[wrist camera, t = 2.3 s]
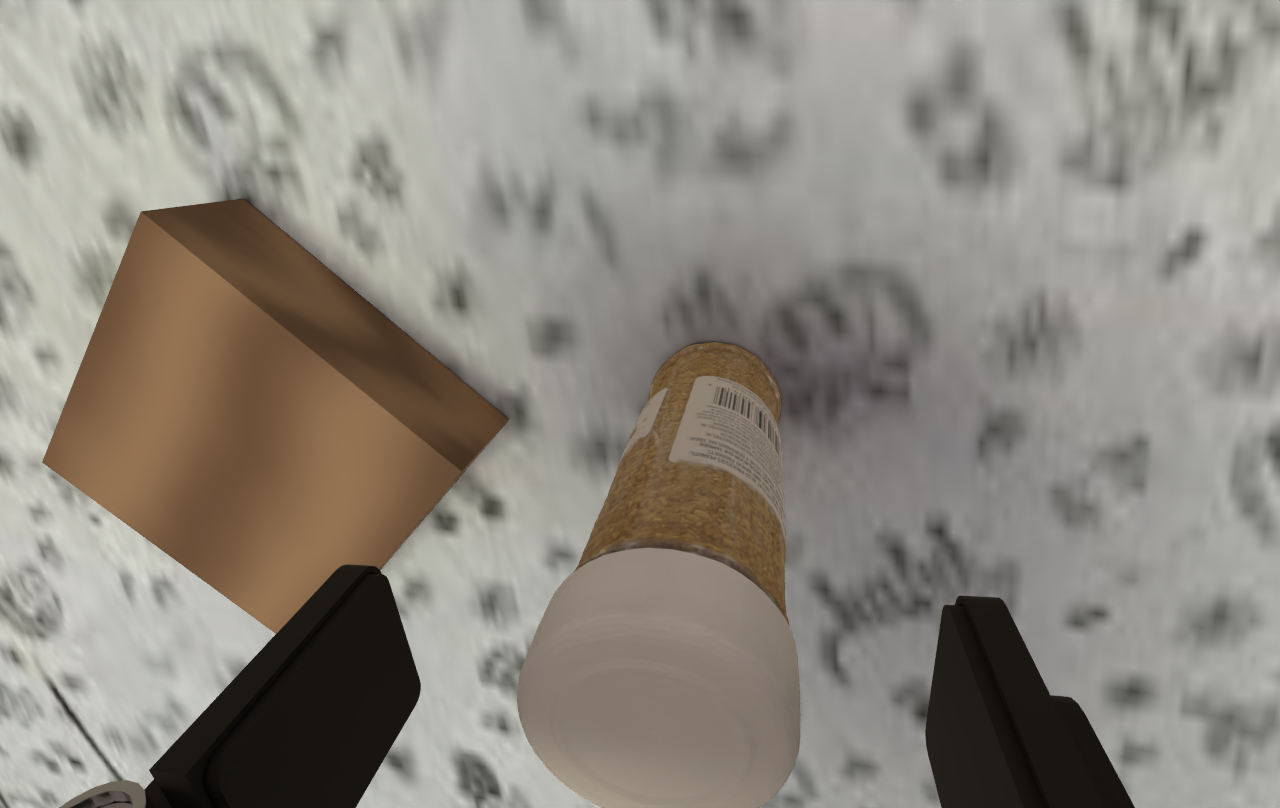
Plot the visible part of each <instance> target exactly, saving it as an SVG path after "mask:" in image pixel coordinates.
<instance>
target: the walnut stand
mask: <svg viewBox="0 0 1280 808" xmlns="http://www.w3.org/2000/svg"><path fill="white" fill-rule="evenodd" d="M508 420H509V419H507V418H506V417H505V416H504V415H503V414H501V413H500V412H499V411H498V410H497V409H495V408H494V407H493V406H492V405H491V404H489V403H488V402H487V401H486V400H485V399H483V398H482V397H481V396H480V395H479V394H477V393H476V392H475V391H474V390H473V389H471V388H470V387H469V386H468V385H467V384H465V383H464V382H463V381H462V380H461V379H459V378H458V377H457V376H456V375H455V374H454V373H452V372H451V371H450V370H449V369H448V368H446V367H445V366H444V365H443V364H442V363H440V362H439V361H438V360H437V359H436V358H434V357H433V356H432V355H431V354H430V353H428V352H427V351H426V350H425V349H424V348H422V347H421V346H420V345H419V344H418V343H416V342H415V341H414V340H413V339H412V338H410V337H409V336H408V335H407V334H406V333H404V332H403V331H402V330H401V329H400V328H398V327H397V326H396V325H395V324H394V323H392V322H391V321H390V320H389V319H388V318H386V317H385V316H384V315H383V314H382V313H380V312H379V311H378V310H377V309H376V308H374V307H373V306H372V305H371V304H370V303H368V302H367V301H366V300H365V299H364V298H362V297H361V296H360V295H359V294H358V293H356V292H355V291H354V290H353V289H352V288H350V287H349V286H348V285H347V284H346V283H344V282H343V281H342V280H341V279H340V278H338V277H337V276H336V275H335V274H334V273H332V272H331V271H330V270H329V269H328V268H326V267H325V266H324V265H323V264H322V263H320V262H319V261H318V260H317V259H316V258H314V257H313V256H312V255H311V254H310V253H308V252H307V251H306V250H305V249H304V248H302V247H301V246H300V245H299V244H298V243H296V242H295V241H294V240H293V239H292V238H290V237H289V236H288V235H287V234H286V233H284V232H283V231H282V230H281V229H280V228H278V227H277V226H276V225H275V224H274V223H272V222H271V221H270V220H269V219H268V218H266V217H265V216H264V215H263V214H262V213H260V212H259V211H258V210H257V209H256V208H254V207H253V206H252V205H251V204H250V203H248V202H247V201H246V200H245V199H237V200H229V201H221V202H214V203H206V204H198V205H190V206H182V207H174V208H166V209H158V210H150V211H142V212H141V213H140V215H139V218H138V220H137V223H136V225H135V228H134V230H133V233H132V236H131V238H130V241H129V243H128V246H127V248H126V251H125V253H124V256H123V258H122V261H121V264H120V266H119V269H118V271H117V274H116V276H115V279H114V281H113V284H112V286H111V289H110V291H109V294H108V297H107V299H106V302H105V304H104V307H103V309H102V312H101V314H100V317H99V319H98V322H97V324H96V327H95V330H94V332H93V335H92V337H91V340H90V342H89V345H88V347H87V350H86V352H85V355H84V358H83V360H82V363H81V365H80V368H79V370H78V373H77V375H76V378H75V380H74V383H73V385H72V388H71V391H70V393H69V396H68V398H67V401H66V403H65V406H64V408H63V411H62V413H61V416H60V418H59V421H58V424H57V426H56V429H55V431H54V434H53V436H52V439H51V441H50V444H49V446H48V449H47V452H46V454H45V457H44V459H43V463H44V464H45V465H47V466H48V467H49V468H51V469H52V470H53V471H55V472H56V473H58V474H59V475H60V476H62V477H63V478H64V479H66V480H67V481H68V482H70V483H71V484H72V485H74V486H75V487H77V488H78V489H79V490H81V491H82V492H83V493H85V494H86V495H87V496H89V497H90V498H92V499H93V500H94V501H96V502H97V503H98V504H100V505H101V506H102V507H104V508H105V509H107V510H108V511H109V512H111V513H112V514H113V515H115V516H116V517H117V518H119V519H120V520H122V521H123V522H124V523H126V524H127V525H128V526H130V527H131V528H132V529H134V530H135V531H137V532H138V533H139V534H141V535H142V536H143V537H145V538H146V539H147V540H149V541H150V542H152V543H153V544H154V545H156V546H157V547H158V548H160V549H161V550H162V551H164V552H165V553H167V554H168V555H169V556H171V557H172V558H173V559H175V560H176V561H177V562H179V563H180V564H182V565H183V566H184V567H186V568H187V569H188V570H190V571H191V572H192V573H194V574H195V575H197V576H198V577H199V578H201V579H202V580H203V581H205V582H206V583H207V584H209V585H210V586H212V587H213V588H214V589H216V590H217V591H218V592H220V593H221V594H222V595H224V596H225V597H227V598H228V599H229V600H231V601H232V602H233V603H235V604H236V605H237V606H239V607H240V608H242V609H243V610H244V611H246V612H247V613H248V614H250V615H251V616H252V617H254V618H255V619H257V620H258V621H259V622H261V623H262V624H263V625H265V626H266V627H267V628H269V629H270V630H272V631H273V632H274V633H276V634H277V633H278V632H279V631H280V629H281V628H282V627H283V626H284V625H285V624H286V623H287V622H288V621H289V620H290V619H291V618H292V617H293V616H294V614H295V613H296V612H297V611H298V610H299V609H300V608H301V607H302V606H303V605H304V604H305V603H306V602H307V601H308V599H309V598H310V597H311V596H312V595H313V594H314V593H315V592H316V591H317V590H318V589H319V588H320V587H321V586H322V584H323V583H324V582H325V581H326V580H327V579H328V578H329V577H330V576H331V575H332V574H333V573H334V572H335V571H336V570H337V569H338V568H339V567H340V566H342V565H345V564H348V565H368V566H376V567H377V568H378V569H379V570H381V569H382V567H383V566H384V565H385V564H386V563H387V562H388V560H389V559H390V558H391V557H392V556H393V555H394V553H395V552H396V551H397V550H398V549H399V548H400V546H401V545H402V544H403V543H404V542H405V541H406V539H407V538H408V537H409V536H410V535H411V534H412V532H413V531H414V530H415V529H416V528H417V527H418V525H419V524H420V523H421V522H422V521H423V519H424V518H425V517H426V516H427V515H428V514H429V512H430V511H431V510H432V509H433V508H434V507H435V505H436V504H437V503H438V502H439V501H440V500H441V498H442V497H443V496H444V495H445V494H446V493H447V491H448V490H449V489H450V488H451V487H452V486H453V484H454V483H455V482H456V481H457V480H458V479H459V477H460V476H461V475H462V474H463V473H464V472H465V470H466V469H467V468H468V467H469V466H470V465H471V463H472V462H473V461H474V460H475V459H476V458H477V456H478V455H479V454H480V453H481V452H482V451H483V449H484V448H485V447H486V446H487V445H488V444H489V442H490V441H491V440H492V439H493V438H494V437H495V435H496V434H497V433H498V432H499V431H500V430H501V428H502V427H503V426H504V425H505V424H506V423H507V421H508Z"/></svg>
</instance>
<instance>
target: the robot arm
mask: <svg viewBox="0 0 1280 808" xmlns="http://www.w3.org/2000/svg"><path fill="white" fill-rule="evenodd" d="M420 690H421V684H420V679H419V676H418V673H417V670H416V666H415V663H414V660H413V657H412V654H411V650H410V647H409V644H408V641H407V638H406V634H405V631H404V628H403V625H402V622H401V618H400V615H399V612H398V609H397V606H396V602H395V599H394V596H393V593H392V590H391V586H390V583H389V580H388V578H387V577H386V576H385V575H382V574H381V572H380V570H379V569H378V568H377V567H376V566H368V565H348V564H345V565H342V566H340V567H339V568H338V569H337V570H336V571H335V572H334V573H333V574H332V575H331V576H330V577H329V578H328V579H327V580H326V581H325V582H324V583H323V584H322V586H321V587H320V588H319V589H318V590H317V591H316V592H315V593H314V594H313V595H312V596H311V597H310V598H309V599H308V601H307V602H306V603H305V604H304V605H303V606H302V607H301V608H300V609H299V610H298V611H297V612H296V613H295V614H294V616H293V617H292V618H291V619H290V620H289V621H288V622H287V623H286V624H285V625H284V626H283V627H282V628H281V629H280V631H279V632H278V633H277V634H276V635H275V636H274V637H273V638H272V639H271V640H270V641H269V642H268V643H267V644H266V646H265V647H264V648H263V649H262V650H261V651H260V652H259V653H258V654H257V655H256V656H255V657H254V658H253V659H252V661H251V662H250V663H249V664H248V665H247V666H246V667H245V668H244V669H243V670H242V671H241V672H240V673H239V674H238V676H237V677H236V678H235V679H234V680H233V681H232V682H231V683H230V684H229V685H228V686H227V687H226V688H225V689H224V691H223V692H222V693H221V694H220V695H219V696H218V697H217V698H216V699H215V700H214V701H213V702H212V703H211V704H210V706H209V707H208V708H207V709H206V710H205V711H204V712H203V713H202V714H201V715H200V716H199V717H198V718H197V719H196V720H195V722H194V723H193V724H192V725H191V726H190V727H189V728H188V729H187V730H186V731H185V732H184V733H183V734H182V735H181V737H180V738H179V739H178V740H177V741H176V742H175V743H174V744H173V745H172V746H171V747H170V748H169V749H168V750H167V752H166V753H165V754H164V755H163V756H162V757H161V758H160V759H159V760H158V761H157V762H156V763H155V764H154V765H153V767H152V768H151V769H150V770H149V771H150V773H151V774H152V776H153V777H154V780H153V781H152V782H151V783H150V784H149V785H148V786H147V788H146V789H145V790H144V789H143V788H142V787H141V786H140V785H139V783H135V782H131V781H128V780H125V781H115V782H109V783H106V784H103V785H100V786H98V787H95V788H92V789H90V790H88V791H86V792H84V793H82V794H80V795H78V796H77V797H75V798H73V799H71V800H70V801H68V802H67V803H65V804H64V805H63V806H61V807H60V808H356V806H357V804H358V803H359V801H360V799H361V797H362V796H363V794H364V792H365V791H366V789H367V787H368V786H369V784H370V782H371V780H372V779H373V777H374V775H375V774H376V772H377V770H378V769H379V767H380V765H381V763H382V762H383V760H384V758H385V757H386V755H387V753H388V751H389V750H390V748H391V746H392V745H393V743H394V741H395V740H396V738H397V736H398V734H399V733H400V731H401V729H402V728H403V726H404V724H405V722H406V721H407V719H408V717H409V716H410V714H411V712H412V711H413V709H414V707H415V705H416V703H417V701H418V699H419V695H420ZM926 745H927V751H928V756H929V760H930V764H931V768H932V772H933V775H934V779H935V783H936V787H937V791H938V795H939V799H940V803H941V807H942V808H1135V807H1134V805H1133V803H1132V801H1131V799H1130V798H1129V796H1128V794H1127V792H1126V790H1125V788H1124V786H1123V784H1122V783H1121V781H1120V779H1119V777H1118V775H1117V773H1116V771H1115V770H1114V768H1113V766H1112V764H1111V762H1110V760H1109V758H1108V756H1107V755H1106V753H1105V751H1104V749H1103V747H1102V745H1101V743H1100V741H1099V740H1098V738H1097V736H1096V734H1095V732H1094V730H1093V728H1092V726H1091V725H1090V723H1089V721H1088V719H1087V717H1086V715H1085V714H1084V712H1083V711H1082V709H1081V707H1080V706H1079V704H1078V703H1077V702H1075V701H1074V700H1073V699H1072V698H1070V697H1064V696H1051V695H1050V694H1049V692H1048V690H1047V688H1046V686H1045V684H1044V682H1043V680H1042V678H1041V676H1040V673H1039V671H1038V669H1037V667H1036V665H1035V663H1034V661H1033V659H1032V657H1031V655H1030V653H1029V651H1028V649H1027V647H1026V645H1025V643H1024V641H1023V639H1022V637H1021V635H1020V633H1019V631H1018V629H1017V627H1016V625H1015V623H1014V621H1013V619H1012V617H1011V614H1010V612H1009V610H1008V608H1007V606H1006V605H1005V603H1004V601H1003V600H1002V599H1000V598H994V597H974V596H958V598H957V599H956V603H955V605H944V607H943V610H942V617H941V624H940V631H939V638H938V645H937V652H936V659H935V666H934V673H933V680H932V687H931V693H930V700H929V707H928V714H927V721H926Z"/></svg>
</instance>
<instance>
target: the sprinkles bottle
mask: <svg viewBox="0 0 1280 808" xmlns="http://www.w3.org/2000/svg"><path fill="white" fill-rule="evenodd" d="M780 415H781V397H780V392H779V388H778V385H777V382H776V380H775V379H774V378H773V376H772V374H771V372H770V370H769V369H768V368H767V367H766V366H765V365H764V364H763V363H762V361H761V360H760V359H758V358H757V357H756V356H755V355H753V354H751V353H749V352H748V351H746V350H744V349H743V348H740V347H738V346H735V345H730V344H725V343H717V342H711V343H702V344H694V345H690V346H688V347H686V348H684V349H682V350H680V351H679V352H677V353H676V354H674V355H673V356H672V357H670V358H669V359H668V361H667V362H666V363H665V364H664V365H663V366H662V367H661V368H660V370H659V371H658V372H657V374H656V375H655V377H654V379H653V382H652V385H651V389H650V393H649V400H648V403H647V404H646V405H645V407H644V408H643V410H642V412H641V414H640V416H639V418H638V420H637V423H636V425H635V427H634V429H633V432H632V434H631V436H630V439H629V441H628V443H627V445H626V447H625V450H624V452H623V455H622V457H621V459H620V462H619V466H618V470H617V473H616V476H615V478H614V481H613V483H612V485H611V488H610V491H609V493H608V497H607V499H606V501H605V503H604V506H603V508H602V510H601V512H600V514H599V516H598V519H597V520H596V522H595V525H594V528H593V530H592V533H591V535H590V539H589V541H588V543H587V545H586V547H585V549H584V552H583V554H582V557H581V560H580V563H579V565H578V566H577V568H576V569H575V571H574V572H573V573H572V574H571V575H570V576H569V577H568V578H567V579H566V580H565V581H564V582H563V583H562V584H561V586H560V587H559V588H558V589H557V591H556V592H555V593H554V595H553V597H552V599H551V601H550V603H549V605H548V607H547V609H546V611H545V613H544V616H543V618H542V620H541V622H540V625H539V627H538V629H537V631H536V634H535V636H534V639H533V641H532V644H531V646H530V649H529V651H528V654H527V656H526V659H525V661H524V664H523V666H522V670H521V673H520V676H519V682H518V690H517V703H518V712H519V717H520V721H521V724H522V727H523V729H524V732H525V734H526V737H527V739H528V742H529V743H530V745H531V747H532V748H533V750H534V752H535V753H536V754H537V756H538V757H539V758H540V759H541V761H542V762H543V763H544V764H545V766H546V767H547V768H548V769H549V770H550V771H551V772H552V773H553V774H554V775H555V776H556V777H557V778H558V779H559V780H560V781H561V782H563V783H564V784H565V785H566V786H568V787H569V788H570V789H572V790H573V791H574V792H576V793H577V794H579V795H580V796H582V797H584V798H586V799H587V800H589V801H591V802H592V803H594V804H596V805H598V806H600V807H602V808H758V807H759V806H761V805H762V804H764V803H765V802H767V801H768V800H769V799H771V798H772V797H773V796H774V795H775V794H776V793H777V791H778V790H779V789H780V788H781V787H782V786H783V785H784V783H785V782H786V780H787V779H788V777H789V775H790V773H791V771H792V769H793V767H794V765H795V762H796V759H797V755H798V752H799V744H800V686H799V670H798V656H797V651H796V645H795V640H794V638H793V635H792V632H791V630H790V627H789V622H788V618H787V615H786V606H785V581H784V579H785V569H784V565H785V560H786V550H787V549H786V525H785V502H784V481H783V463H782V448H781V439H780V433H779V429H778V421H779V419H780Z"/></svg>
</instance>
